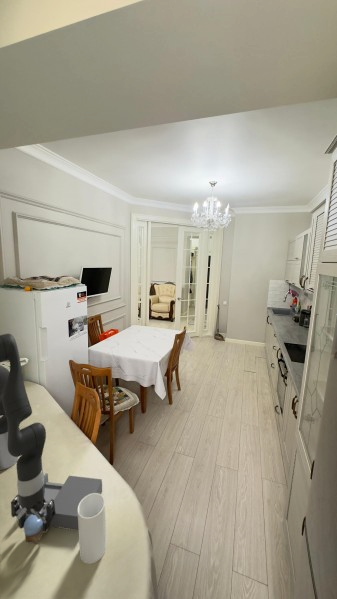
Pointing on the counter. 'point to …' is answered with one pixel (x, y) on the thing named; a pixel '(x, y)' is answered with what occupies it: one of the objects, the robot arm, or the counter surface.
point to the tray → (49, 491)
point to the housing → (73, 500)
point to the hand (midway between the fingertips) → (34, 527)
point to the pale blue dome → (32, 525)
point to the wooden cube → (34, 537)
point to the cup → (92, 527)
